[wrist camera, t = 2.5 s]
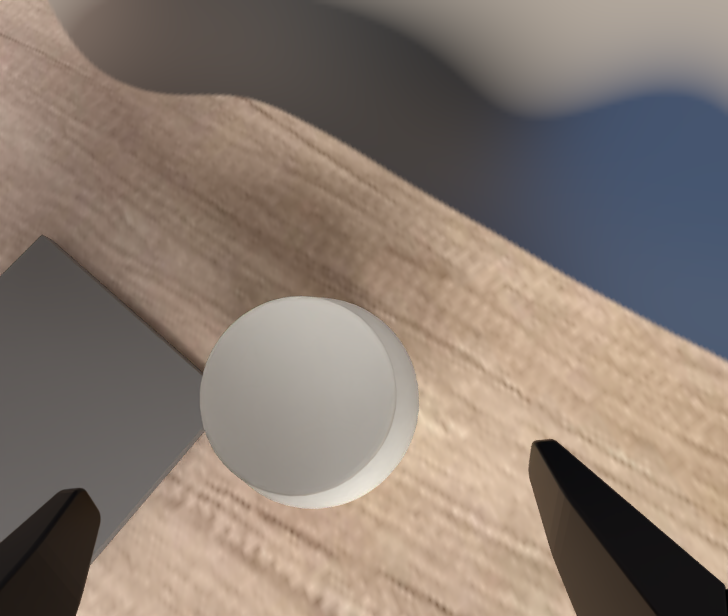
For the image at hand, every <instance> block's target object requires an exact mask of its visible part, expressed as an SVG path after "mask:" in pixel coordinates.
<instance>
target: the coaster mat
mask: <svg viewBox="0 0 728 616" xmlns="http://www.w3.org/2000/svg"><path fill="white" fill-rule="evenodd" d="M202 377H203V373H202V372H201V371H200V370H199V369H198V368H197V367H196V366H194V365H193V364H192V363H191V362H190V361H189V360H188V359H186V358H185V357H184V356H183V355H182V354H181V353H180V352H178V351H177V350H176V349H175V348H174V347H173V346H172V345H171V344H169V343H168V342H167V341H166V340H165V339H164V338H163V337H161V336H160V335H159V334H158V333H157V332H156V331H155V330H153V329H152V328H151V327H150V326H149V325H148V324H147V323H146V322H144V321H143V320H142V319H141V318H140V317H139V316H138V315H136V314H135V313H134V312H133V311H132V310H131V309H130V308H128V307H127V306H126V305H125V304H124V303H123V302H122V301H121V300H119V299H118V298H117V297H116V296H115V295H114V294H113V293H111V292H110V291H109V290H108V289H107V288H106V287H105V286H103V285H102V284H101V283H100V282H99V281H98V280H97V279H96V278H94V277H93V276H92V275H91V274H90V273H89V272H88V271H86V270H85V269H84V268H83V267H82V266H81V265H80V264H78V263H77V262H76V261H75V260H74V259H73V258H72V257H71V256H69V255H68V254H67V253H66V252H65V251H64V250H63V249H61V248H60V247H59V246H58V245H57V244H56V243H55V242H53V241H52V240H51V239H49V238H47V237H46V236H44V235H41V236H40V237H39V238H38V239H37V240H36V241H35V242H34V243H33V244H32V245H31V246H30V247H29V248H28V249H27V250H26V251H25V252H24V253H23V254H22V255H21V256H20V257H19V258H18V259H17V260H16V261H15V262H14V263H13V264H12V265H11V266H10V267H9V268H8V269H7V270H6V271H5V272H4V273H3V274H2V275H1V276H0V542H1V541H3V540H4V539H5V538H6V537H7V536H8V535H9V534H11V533H12V532H13V531H14V530H15V529H16V528H17V527H19V526H20V525H21V524H22V523H23V522H24V521H25V520H27V519H28V518H29V517H30V516H31V515H32V514H33V513H35V512H36V511H37V510H38V509H39V508H40V507H41V506H43V505H44V504H45V503H46V502H47V501H48V500H49V499H51V498H52V497H53V496H54V495H55V494H56V493H58V492H59V491H61V490H64V489H71V488H83V489H85V490H86V491H87V492H88V494H89V495H90V497H91V499H92V500H93V502H94V503H95V505H96V506H97V508H98V509H99V511H100V515H101V523H100V528H99V532H98V536H97V539H96V543H95V547H94V551H93V555H92V559H91V563H90V565H91V564H92V562H93V561H94V560H95V559H96V558H97V557H98V555H99V554H100V553H101V552H102V551H103V550H104V548H105V547H106V546H107V545H108V544H109V542H110V541H111V540H112V539H113V538H114V537H115V535H116V534H117V533H118V532H119V531H120V530H121V528H122V527H123V526H124V525H125V524H126V523H127V521H128V520H129V519H130V518H131V517H132V516H133V514H134V513H135V512H136V511H137V510H138V508H139V507H140V506H141V505H142V504H143V503H144V501H145V500H146V499H147V498H148V497H149V496H150V494H151V493H152V492H153V491H154V490H155V489H156V487H157V486H158V485H159V484H160V483H161V482H162V480H163V479H164V478H165V477H166V476H167V474H168V473H169V472H170V471H171V470H172V469H173V467H174V466H175V465H176V464H177V463H178V462H179V460H180V459H181V458H182V457H183V456H184V455H185V453H186V452H187V451H188V450H189V449H190V448H191V446H192V445H193V444H194V443H195V442H196V440H197V439H198V438H199V437H200V436H201V435H202V433H203V432H204V431H205V430H204V427H203V422H202V416H201V411H200V387H201V381H202Z"/></svg>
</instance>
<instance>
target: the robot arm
mask: <svg viewBox="0 0 728 616" xmlns="http://www.w3.org/2000/svg"><path fill="white" fill-rule="evenodd" d="M529 478H530V482H531V485H532V488H533V492H534V495H535V499H536V502H537V505H538V509H539V512H540V516H541V519H542V523H543V526H544V529H545V533H546V536H547V540H548V543H549V546H550V549H551V553H552V556H553V558H554V561H555V564H556V566H557V569H558V571H559V574H560V576H561V578H562V581H563V583H564V586H565V588H566V591H567V593H568V595H569V598H570V600H571V603H572V605H573V608H574V610H575V612H576V615H577V616H728V589H726V587H725V585H724V584H723V583H722V582H721V581H720V580H719V579H717V578H716V577H715V576H714V575H713V574H712V573H710V572H709V571H708V570H707V569H706V568H705V567H703V566H702V565H701V564H700V563H699V562H698V561H696V560H695V559H694V558H693V557H692V556H690V555H689V554H688V553H687V552H686V551H685V550H683V549H682V548H681V547H680V546H679V545H678V544H676V543H675V542H674V541H673V540H672V539H671V538H669V537H668V536H667V535H666V534H665V533H664V532H662V531H661V530H660V529H659V528H658V527H657V526H655V525H654V524H653V523H652V522H651V521H650V520H648V519H647V518H646V517H645V516H644V515H643V514H641V513H640V512H639V511H638V510H637V509H636V508H634V507H633V506H632V505H631V504H630V503H628V502H627V501H626V500H625V499H624V498H623V497H621V496H620V495H619V494H618V493H617V492H616V491H614V490H613V489H612V488H611V487H610V486H609V485H607V484H606V483H605V482H604V481H603V480H602V479H600V478H599V477H598V476H597V475H596V474H595V473H593V472H592V471H591V470H590V469H589V468H588V467H586V466H585V465H584V464H583V463H582V462H581V461H579V460H578V459H577V458H576V457H575V456H573V455H572V454H571V453H570V452H569V451H568V450H566V449H565V448H564V447H563V446H562V445H561V444H559V443H558V442H557V441H555V440H553V439H545V440H536V441H534V442H533V443H532V446H531V453H530V460H529ZM100 523H101V515H100V511H99V509H98V508H97V506H96V505H95V503H94V502H93V500H92V499H91V497H90V495H89V494H88V492H87V491H86V490H85V489H83V488H71V489H64V490H61V491H59V492H58V493H56V494H55V495H54V496H53V497H52V498H51V499H49V500H48V501H47V502H46V503H45V504H44V505H43V506H41V507H40V508H39V509H38V510H37V511H36V512H35V513H33V514H32V515H31V516H30V517H29V518H28V519H27V520H25V521H24V522H23V523H22V524H21V525H20V526H19V527H17V528H16V529H15V530H14V531H13V532H12V533H11V534H9V535H8V536H7V537H6V538H5V539H4V540H3V541H1V542H0V616H76V613H77V610H78V607H79V604H80V601H81V598H82V594H83V591H84V587H85V583H86V579H87V575H88V571H89V567H90V563H91V559H92V555H93V551H94V547H95V543H96V539H97V536H98V532H99V528H100Z"/></svg>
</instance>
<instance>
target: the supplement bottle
mask: <svg viewBox="0 0 728 616" xmlns="http://www.w3.org/2000/svg"><path fill="white" fill-rule="evenodd" d="M200 411H201V416H202V422H203V427H204V430H205V433H206V435H207V438H208V440H209V442H210V444H211V446H212V448H213V450H214V452H215V453H216V455H217V456H218V457H219V459H220V460H221V461H222V462H223V464H224V465H225V466H226V467H227V468H228V469H229V470H230V471H231V472H232V473H234V474H235V475H236V476H237V477H239V478H240V479H241V480H243V481H244V482H245V483H246V484H248V485H249V486H250V487H251V488H252V489H254V490H255V491H257V492H258V493H259V494H261V495H263V496H265V497H266V498H268V499H270V500H272V501H275V502H278V503H280V504H284V505H287V506H291V507H297V508H308V509H320V508H328V507H334V506H338V505H342V504H345V503H348V502H350V501H353V500H355V499H357V498H359V497H362V496H363V495H365V494H367V493H368V492H370V491H371V490H373V489H374V488H375V487H377V486H378V485H379V484H380V483H381V482H382V481H384V480H385V479H386V478H387V477H388V476H389V475H390V473H391V472H392V471H393V470H394V469H395V468H396V466H397V465H398V464H399V463H400V461H401V460H402V458H403V456H404V455H405V453H406V451H407V449H408V447H409V445H410V443H411V440H412V438H413V435H414V432H415V428H416V424H417V418H418V412H419V392H418V383H417V379H416V374H415V370H414V367H413V364H412V362H411V359H410V357H409V355H408V353H407V351H406V349H405V348H404V346H403V344H402V343H401V341H400V340H399V338H398V337H397V336H396V334H395V333H394V332H393V331H392V330H391V329H390V328H389V327H388V326H387V325H386V324H385V323H384V322H383V321H382V320H380V319H379V318H378V317H376V316H375V315H373V314H372V313H370V312H369V311H367V310H365V309H363V308H361V307H359V306H357V305H355V304H352V303H349V302H346V301H342V300H337V299H331V298H324V297H309V296H292V297H284V298H280V299H275V300H272V301H269V302H266V303H264V304H262V305H259V306H257V307H255V308H253V309H252V310H250V311H248V312H247V313H245V314H244V315H242V316H241V317H240V318H238V319H237V320H236V321H235V322H234V323H233V324H231V326H230V327H229V328H228V329H227V330H226V331H225V332H224V333H223V335H222V336H221V337H220V339H219V340H218V342H217V343H216V345H215V346H214V348H213V350H212V352H211V354H210V356H209V358H208V360H207V363H206V366H205V369H204V372H203V377H202V381H201V387H200Z"/></svg>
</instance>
